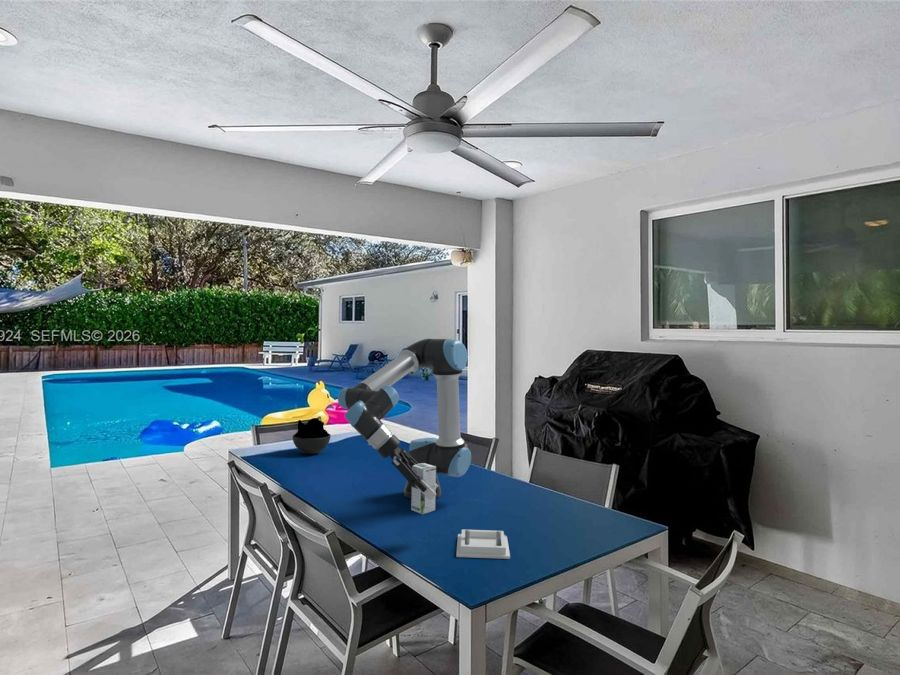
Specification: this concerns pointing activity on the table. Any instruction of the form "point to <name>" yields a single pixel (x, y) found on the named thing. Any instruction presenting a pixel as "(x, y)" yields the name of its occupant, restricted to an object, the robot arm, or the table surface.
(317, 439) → the coal bowl
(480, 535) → the tray
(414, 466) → the syrup box
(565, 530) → the table surface
